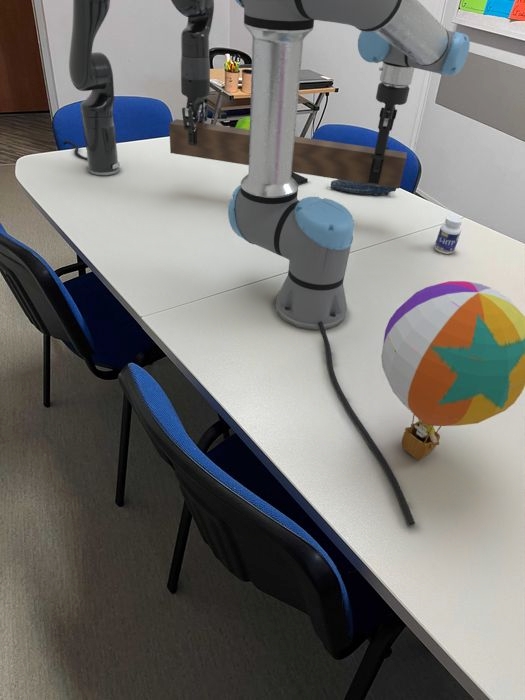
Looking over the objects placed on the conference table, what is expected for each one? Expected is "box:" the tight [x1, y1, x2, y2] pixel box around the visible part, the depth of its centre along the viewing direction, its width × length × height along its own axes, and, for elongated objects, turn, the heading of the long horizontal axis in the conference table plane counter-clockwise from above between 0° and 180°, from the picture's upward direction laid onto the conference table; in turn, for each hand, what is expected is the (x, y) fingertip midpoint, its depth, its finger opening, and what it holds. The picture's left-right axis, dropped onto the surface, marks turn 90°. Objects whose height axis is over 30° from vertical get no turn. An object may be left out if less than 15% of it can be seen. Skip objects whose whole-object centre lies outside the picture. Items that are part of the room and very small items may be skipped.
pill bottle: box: [434, 215, 463, 255], centre depth 137 cm, size 5×5×9 cm
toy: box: [380, 280, 525, 461], centre depth 74 cm, size 20×20×30 cm
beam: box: [168, 118, 408, 190], centre depth 141 cm, size 64×5×8 cm, turn 75°
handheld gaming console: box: [292, 172, 309, 185], centre depth 171 cm, size 12×7×10 cm
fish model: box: [330, 179, 397, 196], centre depth 167 cm, size 7×21×5 cm, turn 84°
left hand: (196, 141), depth 146 cm, fingers closed on beam, 5 cm apart
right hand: (374, 178), depth 139 cm, fingers closed on beam, 5 cm apart
